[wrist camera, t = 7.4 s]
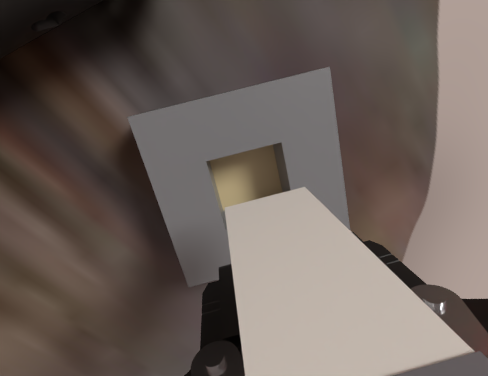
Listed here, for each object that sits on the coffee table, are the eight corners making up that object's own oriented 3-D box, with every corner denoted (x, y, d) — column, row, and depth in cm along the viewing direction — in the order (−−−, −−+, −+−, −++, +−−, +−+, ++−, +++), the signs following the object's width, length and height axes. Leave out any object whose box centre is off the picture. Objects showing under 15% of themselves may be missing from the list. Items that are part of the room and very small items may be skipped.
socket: (143, 112, 24) (123, 118, 18) (306, 72, 24) (334, 65, 19) (192, 255, 28) (187, 293, 23) (328, 219, 29) (356, 248, 23)
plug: (223, 206, 14) (262, 552, 3) (305, 185, 14) (590, 455, 3) (242, 277, 15) (314, 681, 5) (317, 257, 15) (550, 608, 5)
